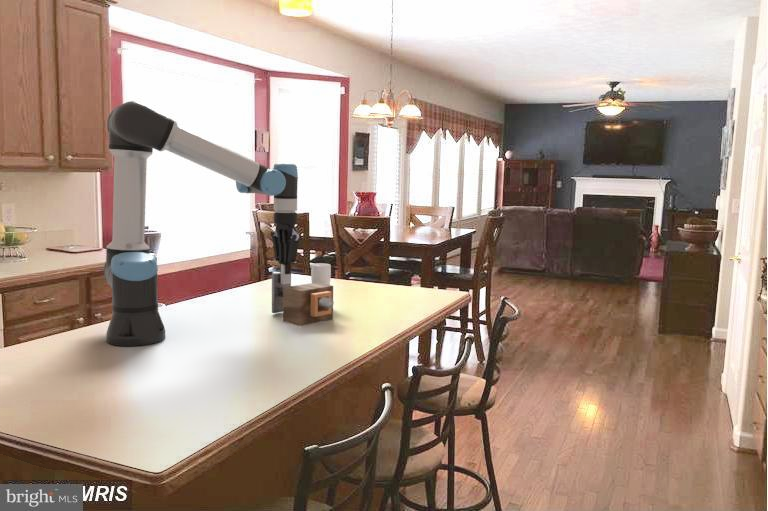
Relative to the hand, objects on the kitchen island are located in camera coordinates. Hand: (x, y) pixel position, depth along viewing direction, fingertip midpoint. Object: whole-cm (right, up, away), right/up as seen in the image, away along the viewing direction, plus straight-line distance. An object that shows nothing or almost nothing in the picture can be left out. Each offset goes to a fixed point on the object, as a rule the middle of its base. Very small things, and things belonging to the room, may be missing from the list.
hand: (285, 283), depth 209 cm
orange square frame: (+13, -6, -11) cm, 18 cm away
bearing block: (+8, -11, -6) cm, 15 cm away
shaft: (+7, -11, -5) cm, 14 cm away
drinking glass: (+10, -9, +13) cm, 19 cm away
